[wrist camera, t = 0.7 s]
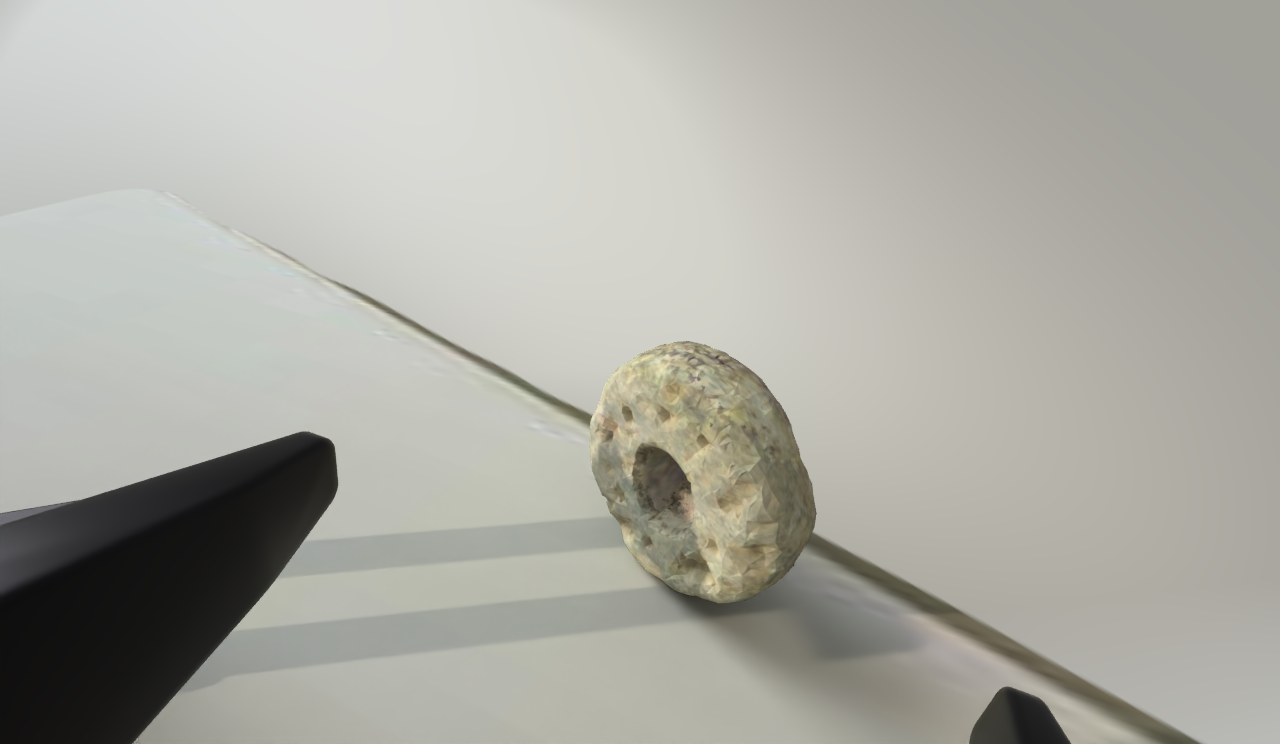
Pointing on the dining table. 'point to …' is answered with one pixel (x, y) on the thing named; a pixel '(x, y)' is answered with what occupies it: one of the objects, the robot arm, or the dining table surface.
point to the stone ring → (701, 472)
